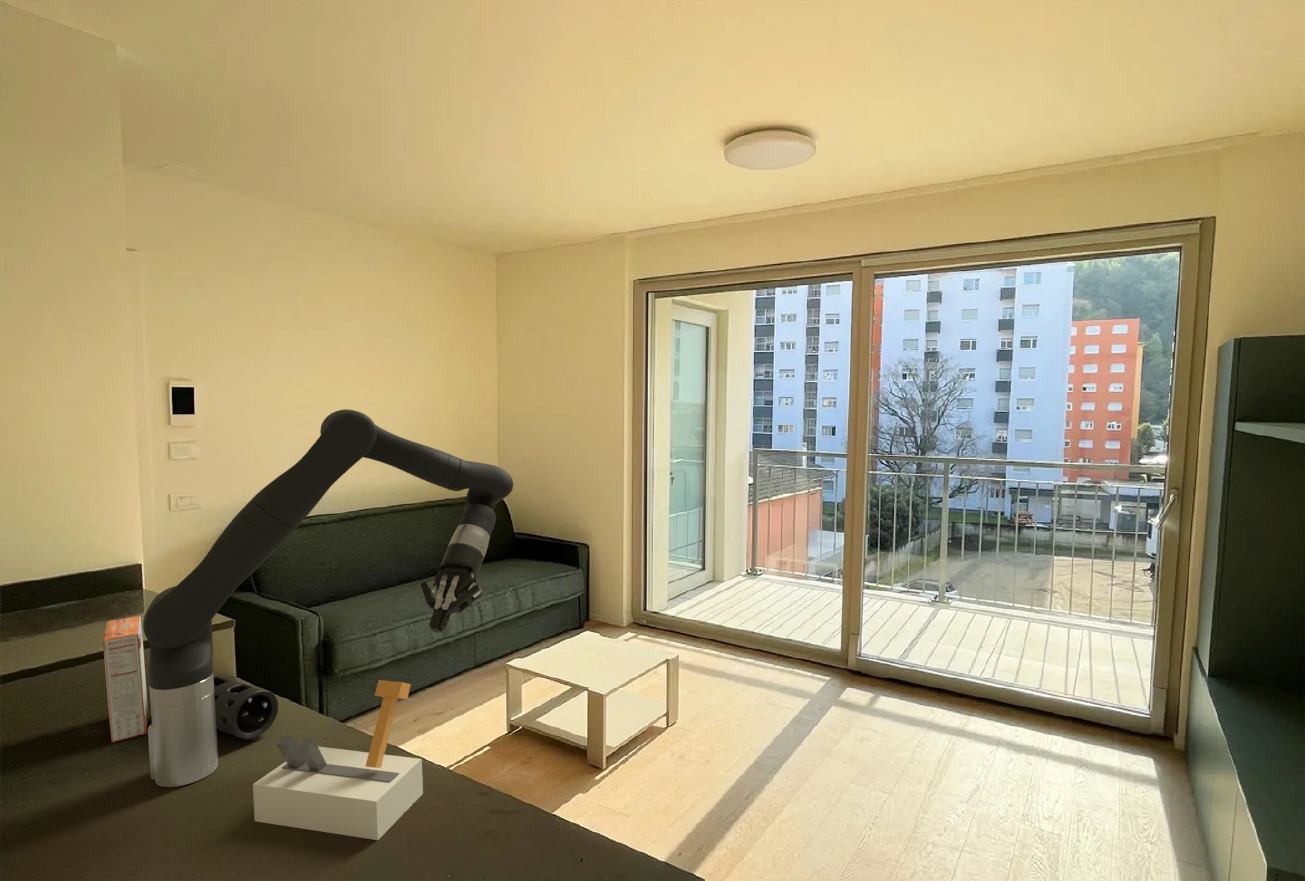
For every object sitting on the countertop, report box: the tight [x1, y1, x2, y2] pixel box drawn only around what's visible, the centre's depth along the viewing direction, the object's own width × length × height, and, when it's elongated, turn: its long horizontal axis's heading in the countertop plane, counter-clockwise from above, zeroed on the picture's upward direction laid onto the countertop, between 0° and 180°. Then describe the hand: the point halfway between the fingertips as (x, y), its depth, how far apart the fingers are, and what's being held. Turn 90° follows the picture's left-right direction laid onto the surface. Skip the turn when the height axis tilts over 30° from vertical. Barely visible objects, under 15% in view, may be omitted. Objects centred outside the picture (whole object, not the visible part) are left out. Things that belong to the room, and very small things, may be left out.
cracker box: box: [102, 615, 148, 743], centre depth 136 cm, size 14×6×21 cm, turn 36°
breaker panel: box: [252, 735, 424, 841], centre depth 107 cm, size 22×12×12 cm, turn 77°
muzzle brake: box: [213, 673, 279, 742], centre depth 135 cm, size 10×28×10 cm, turn 62°
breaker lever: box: [366, 679, 412, 768], centre depth 109 cm, size 4×3×13 cm, turn 77°
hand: (435, 630), depth 124 cm, fingers closed
